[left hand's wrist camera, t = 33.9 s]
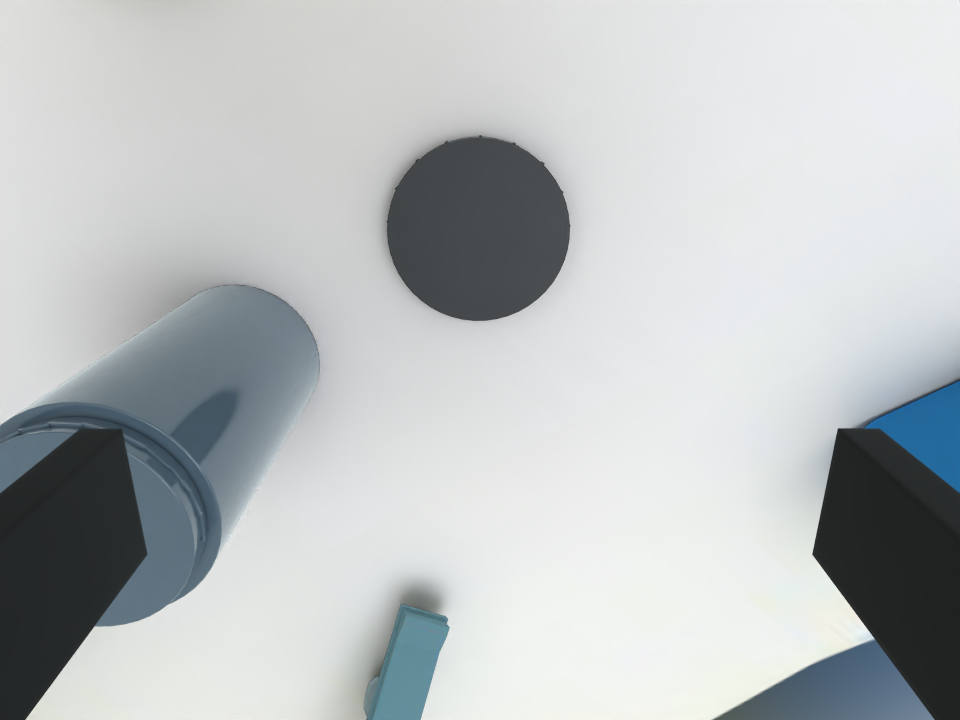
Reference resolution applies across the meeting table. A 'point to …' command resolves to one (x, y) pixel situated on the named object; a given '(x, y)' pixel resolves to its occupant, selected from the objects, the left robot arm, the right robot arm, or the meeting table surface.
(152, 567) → the jar
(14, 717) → the left robot arm
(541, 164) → the lid
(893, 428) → the logo
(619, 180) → the meeting table surface
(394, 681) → the toy gun
